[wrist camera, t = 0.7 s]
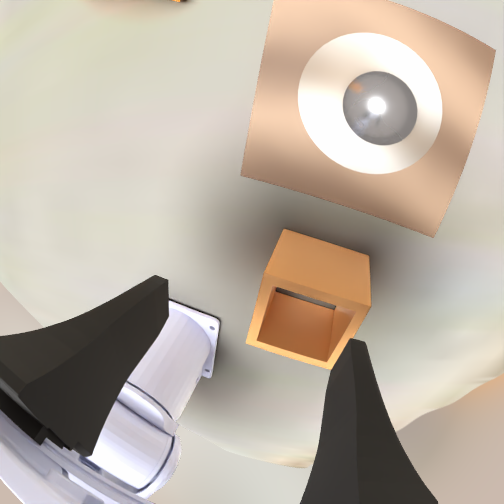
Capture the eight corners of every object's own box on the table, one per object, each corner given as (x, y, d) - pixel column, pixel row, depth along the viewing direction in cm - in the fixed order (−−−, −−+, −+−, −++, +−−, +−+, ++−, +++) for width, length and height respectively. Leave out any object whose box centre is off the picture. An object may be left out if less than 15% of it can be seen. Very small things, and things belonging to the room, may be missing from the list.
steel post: (389, 136, 15) (405, 156, 11) (337, 118, 15) (334, 131, 11) (402, 86, 13) (425, 87, 9) (349, 68, 13) (352, 61, 9)
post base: (430, 230, 16) (434, 239, 16) (245, 170, 18) (239, 176, 17) (488, 51, 10) (497, 50, 9) (282, -18, 11) (278, -24, 10)
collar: (339, 317, 22) (332, 370, 18) (265, 294, 23) (245, 343, 19) (368, 255, 19) (371, 306, 15) (283, 228, 20) (263, 272, 15)
